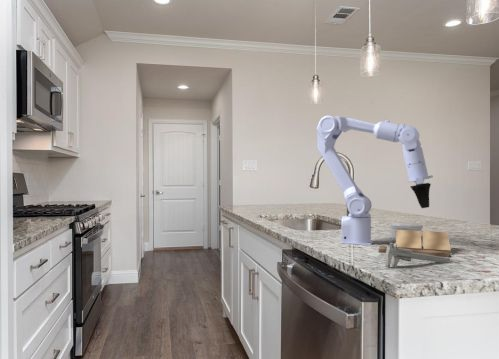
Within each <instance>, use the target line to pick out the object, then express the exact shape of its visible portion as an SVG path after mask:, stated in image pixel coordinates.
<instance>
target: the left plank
mask: <svg viewBox="0 0 499 359" xmlns="http://www.w3.org/2000/svg"><path fill="white" fill-rule="evenodd" d="M395 244H397V247H402V248H417V249H423V245H422V230H421V231H412V230H397V232H396V239H395Z"/></svg>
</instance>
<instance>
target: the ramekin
mask: <svg viewBox="0 0 499 359" xmlns="http://www.w3.org/2000/svg"><path fill="white" fill-rule="evenodd" d="M388 229H389V233H390V237H391V238H392V239H394V240H396V232H397V230H412V231H421V232H422V231H423V230H422V229H423V224H420V223H415V222H391V223H389V224H388Z"/></svg>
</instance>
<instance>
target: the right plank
mask: <svg viewBox="0 0 499 359" xmlns="http://www.w3.org/2000/svg"><path fill="white" fill-rule="evenodd" d="M449 239H450V238H449V234H448V231H429V230H421V240H422V249H432V250H447V252H448V254H449V255H451V254H452V253H451V252H452V248H451V245H450V240H449Z"/></svg>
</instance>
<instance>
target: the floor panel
mask: <svg viewBox="0 0 499 359" xmlns="http://www.w3.org/2000/svg"><path fill="white" fill-rule="evenodd" d="M387 247H388V246H386V245H385V246H384V245H382V246H381V245H379V247H378V253H381V254H386V250H387ZM397 248H400V249H405V250H411V251H413V253H419V254H426V255H432V256H439V257H445V258H449V256H450V254H448V252H447V250H432V249H423V248H422V249H417V248H402V247H397Z"/></svg>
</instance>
